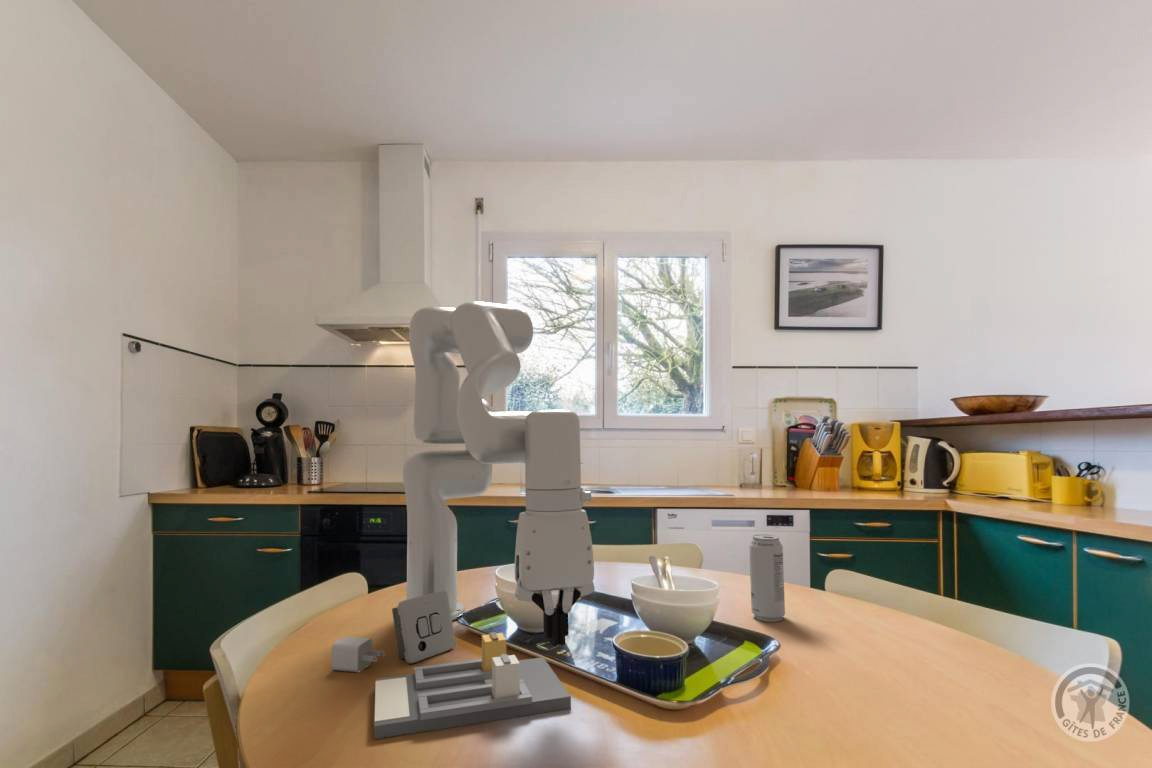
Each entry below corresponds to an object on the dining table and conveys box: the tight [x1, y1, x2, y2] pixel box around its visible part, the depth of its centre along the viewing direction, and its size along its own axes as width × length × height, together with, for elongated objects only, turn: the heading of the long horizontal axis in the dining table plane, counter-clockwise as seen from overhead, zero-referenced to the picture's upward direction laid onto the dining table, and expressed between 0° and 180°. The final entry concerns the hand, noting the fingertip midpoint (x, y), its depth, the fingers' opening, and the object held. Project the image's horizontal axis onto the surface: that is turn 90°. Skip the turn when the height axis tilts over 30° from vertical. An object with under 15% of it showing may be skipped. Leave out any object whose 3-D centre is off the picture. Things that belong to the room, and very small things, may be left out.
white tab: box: [492, 653, 520, 699], centre depth 78 cm, size 3×3×5 cm
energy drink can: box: [749, 534, 786, 623], centre depth 114 cm, size 6×6×15 cm
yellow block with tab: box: [481, 631, 507, 671], centre depth 86 cm, size 3×3×5 cm
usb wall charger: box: [330, 636, 385, 673], centre depth 92 cm, size 4×7×4 cm, turn 78°
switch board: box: [373, 654, 572, 740], centre depth 81 cm, size 15×24×2 cm, turn 108°
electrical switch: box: [391, 591, 457, 665], centre depth 98 cm, size 9×5×9 cm, turn 141°
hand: (556, 642), depth 79 cm, fingers closed
